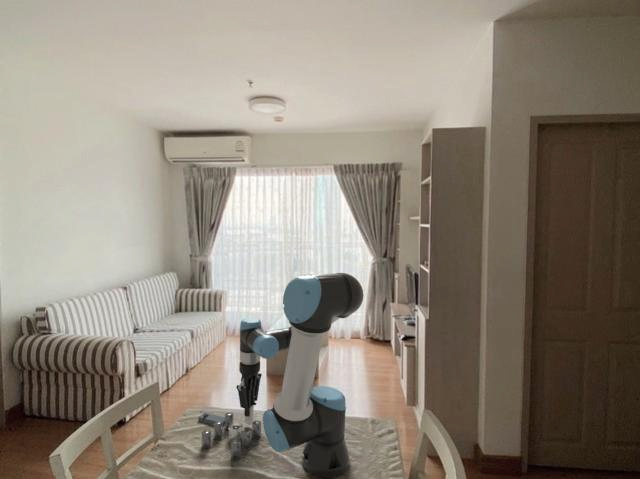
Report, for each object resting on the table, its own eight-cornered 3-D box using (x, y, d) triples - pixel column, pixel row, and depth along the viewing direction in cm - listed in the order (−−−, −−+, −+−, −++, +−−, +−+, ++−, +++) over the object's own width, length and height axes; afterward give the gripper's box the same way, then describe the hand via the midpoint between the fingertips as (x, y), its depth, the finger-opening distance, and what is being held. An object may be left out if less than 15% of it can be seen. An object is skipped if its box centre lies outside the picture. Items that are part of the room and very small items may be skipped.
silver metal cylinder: (245, 436, 125) (245, 425, 124) (237, 444, 120) (237, 433, 120) (234, 432, 127) (234, 421, 126) (225, 440, 122) (225, 429, 122)
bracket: (221, 428, 130) (221, 423, 129) (197, 422, 133) (197, 417, 133) (227, 422, 133) (227, 417, 133) (204, 416, 137) (204, 411, 136)
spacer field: (262, 435, 125) (262, 421, 125) (236, 461, 112) (236, 446, 111) (228, 424, 131) (228, 411, 131) (199, 447, 118) (199, 433, 117)
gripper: (251, 352, 136) (250, 411, 138) (230, 365, 125) (229, 429, 126) (268, 356, 133) (266, 416, 135) (248, 369, 122) (246, 435, 123)
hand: (248, 422), depth 130 cm, fingers closed
